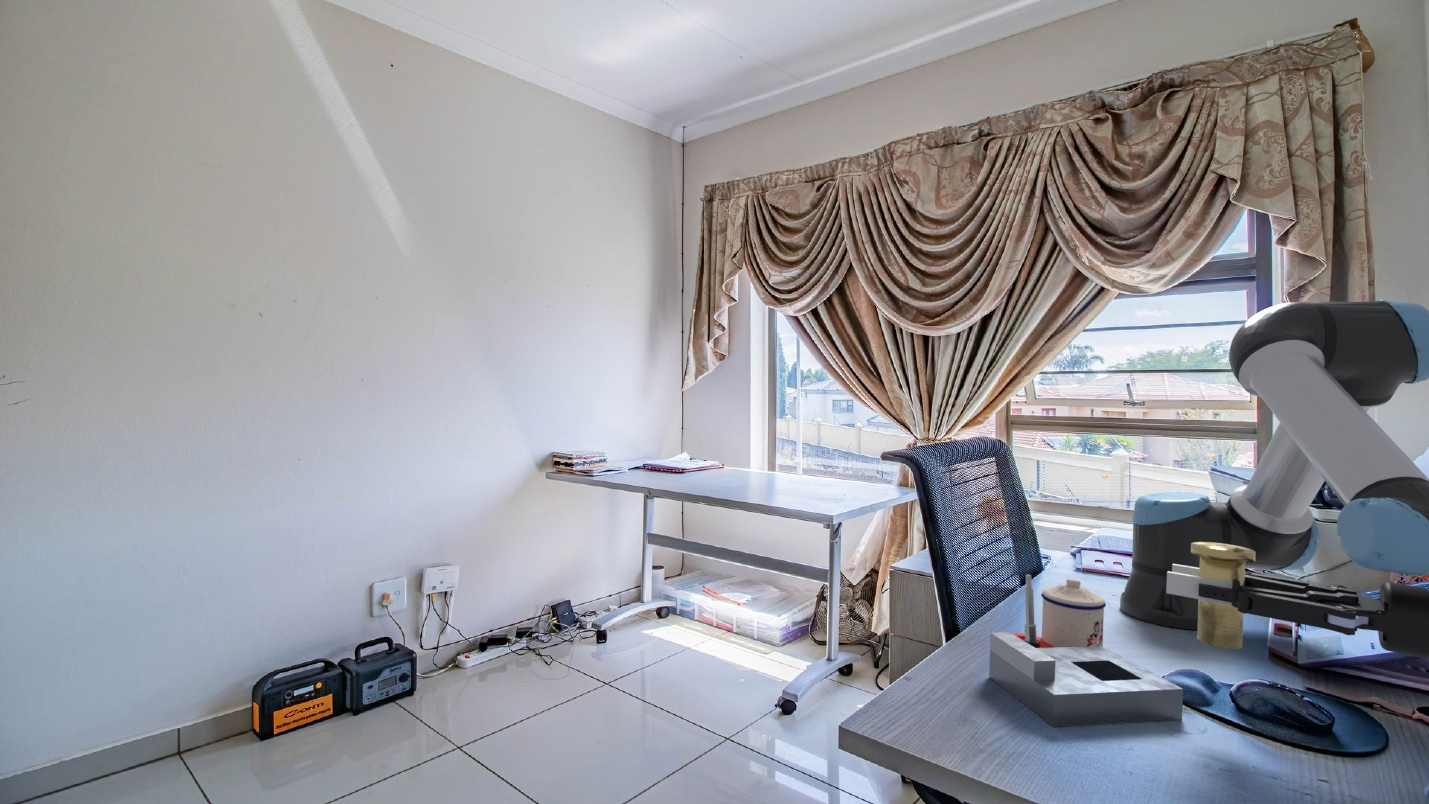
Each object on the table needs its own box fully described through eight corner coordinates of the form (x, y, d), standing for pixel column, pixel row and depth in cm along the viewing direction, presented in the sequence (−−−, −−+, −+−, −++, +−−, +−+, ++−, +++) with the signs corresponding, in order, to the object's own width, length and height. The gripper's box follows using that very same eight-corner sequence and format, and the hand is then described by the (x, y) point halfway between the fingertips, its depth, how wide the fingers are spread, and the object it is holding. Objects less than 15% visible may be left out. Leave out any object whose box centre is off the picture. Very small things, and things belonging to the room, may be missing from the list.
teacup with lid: (1101, 668, 97) (1103, 591, 97) (1035, 652, 102) (1037, 580, 102) (1108, 644, 107) (1110, 575, 107) (1047, 631, 112) (1049, 565, 112)
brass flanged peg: (1218, 631, 85) (1221, 541, 84) (1266, 651, 78) (1269, 554, 78) (1175, 633, 84) (1178, 542, 84) (1220, 653, 77) (1223, 554, 77)
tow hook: (988, 639, 109) (1004, 659, 99) (985, 562, 109) (1001, 575, 100) (1041, 640, 107) (1062, 661, 98) (1038, 563, 108) (1059, 576, 99)
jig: (1100, 672, 95) (1102, 629, 95) (1182, 720, 82) (1183, 669, 81) (989, 677, 93) (990, 632, 93) (1053, 726, 79) (1055, 674, 79)
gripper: (1447, 685, 62) (1158, 623, 78) (1419, 636, 76) (1177, 591, 91) (1450, 609, 62) (1161, 562, 78) (1421, 573, 75) (1178, 539, 91)
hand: (1170, 578), depth 84 cm, fingers closed on brass flanged peg, 4 cm apart
